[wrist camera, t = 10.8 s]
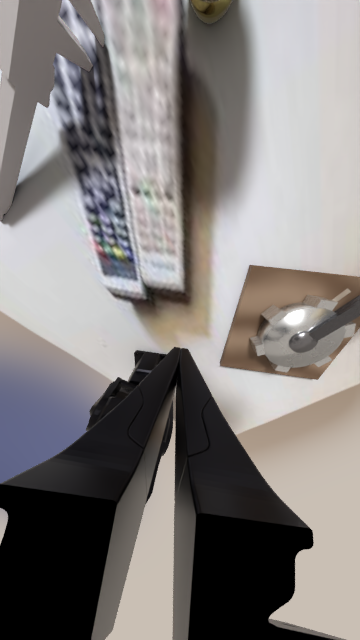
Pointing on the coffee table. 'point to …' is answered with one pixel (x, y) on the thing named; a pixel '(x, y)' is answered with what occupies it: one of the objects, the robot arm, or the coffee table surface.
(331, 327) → the ring nut
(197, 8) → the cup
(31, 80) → the caliper
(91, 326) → the coffee table surface
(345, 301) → the nut base
